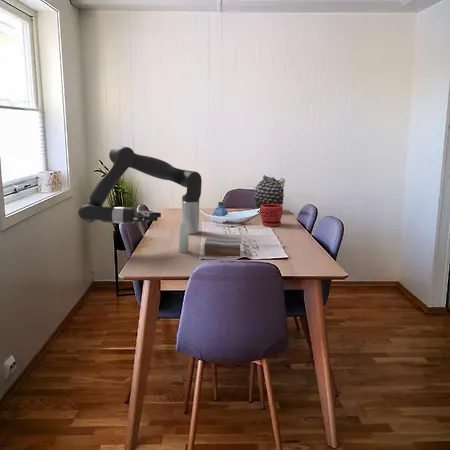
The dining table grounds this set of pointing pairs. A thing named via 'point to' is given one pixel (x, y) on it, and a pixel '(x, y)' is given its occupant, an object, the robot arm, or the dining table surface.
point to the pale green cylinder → (183, 236)
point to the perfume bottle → (220, 210)
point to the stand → (222, 247)
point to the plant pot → (271, 214)
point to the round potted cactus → (269, 192)
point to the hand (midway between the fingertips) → (159, 216)
